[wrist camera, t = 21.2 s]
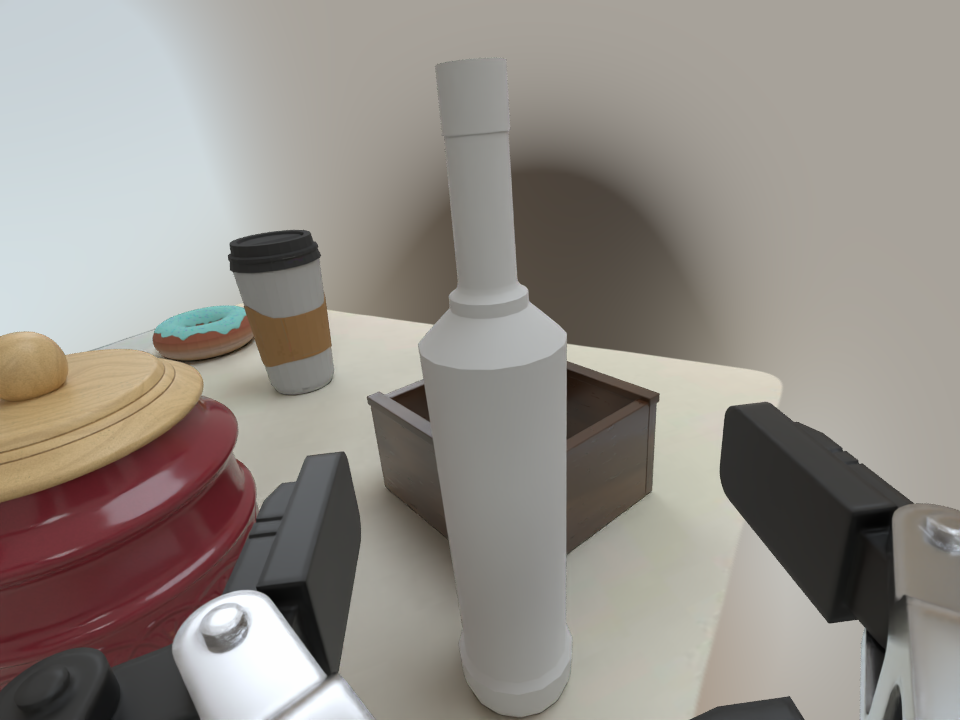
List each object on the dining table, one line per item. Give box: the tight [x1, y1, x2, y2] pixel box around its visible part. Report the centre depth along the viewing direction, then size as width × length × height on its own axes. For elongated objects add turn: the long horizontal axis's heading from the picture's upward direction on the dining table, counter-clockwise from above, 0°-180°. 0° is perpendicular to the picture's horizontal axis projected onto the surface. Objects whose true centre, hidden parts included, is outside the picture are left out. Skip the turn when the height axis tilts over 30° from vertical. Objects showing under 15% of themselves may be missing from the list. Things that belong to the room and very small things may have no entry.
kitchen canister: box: [0, 332, 259, 691], centre depth 24 cm, size 13×13×18 cm
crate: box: [367, 361, 660, 554], centre depth 37 cm, size 14×13×7 cm
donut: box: [153, 306, 254, 361], centre depth 69 cm, size 12×12×4 cm
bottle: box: [418, 58, 572, 718], centre depth 21 cm, size 5×5×25 cm
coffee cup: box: [228, 230, 334, 394], centre depth 55 cm, size 8×8×15 cm
